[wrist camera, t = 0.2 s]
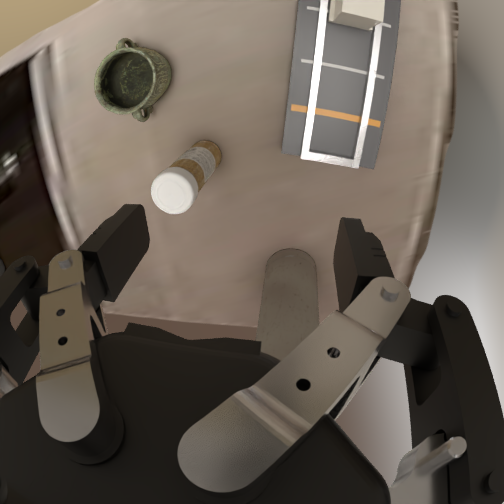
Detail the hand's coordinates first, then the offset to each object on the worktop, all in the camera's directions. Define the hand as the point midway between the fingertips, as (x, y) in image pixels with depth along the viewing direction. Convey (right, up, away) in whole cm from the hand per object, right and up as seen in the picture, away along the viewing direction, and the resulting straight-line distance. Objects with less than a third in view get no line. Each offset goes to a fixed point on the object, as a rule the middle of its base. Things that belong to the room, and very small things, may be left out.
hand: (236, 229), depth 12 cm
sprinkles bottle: (-6, +12, +27) cm, 30 cm away
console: (+11, +21, +18) cm, 30 cm away
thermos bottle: (+7, -4, +36) cm, 37 cm away
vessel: (-14, +23, +22) cm, 34 cm away
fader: (+12, +26, +12) cm, 31 cm away
